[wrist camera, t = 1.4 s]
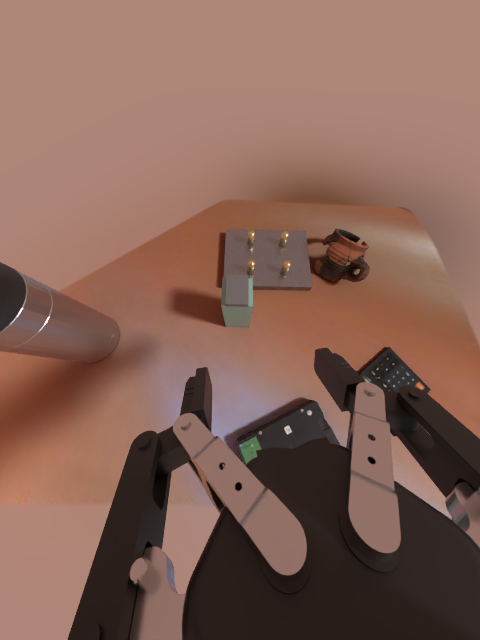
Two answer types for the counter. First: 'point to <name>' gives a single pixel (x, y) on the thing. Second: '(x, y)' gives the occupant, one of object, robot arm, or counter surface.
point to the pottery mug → (343, 257)
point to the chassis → (269, 258)
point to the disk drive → (287, 431)
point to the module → (237, 300)
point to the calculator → (391, 374)
